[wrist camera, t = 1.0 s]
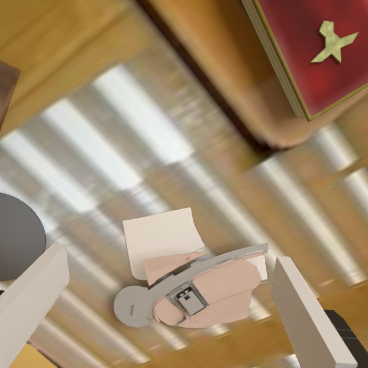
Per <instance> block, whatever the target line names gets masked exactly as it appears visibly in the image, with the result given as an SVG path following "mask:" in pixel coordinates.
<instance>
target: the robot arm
mask: <svg viewBox="0 0 368 368" xmlns="http://www.w3.org/2000/svg"><path fill="white" fill-rule="evenodd" d="M69 281H70V279H69V270H68V261H67V252H66V244H57V243H53V244H52V245H51V246H50V247H49V248H48V249H47V250H46V251H45V252H44V253H43V254H42V255H41V256H40V257H39V258H38V259H37V260H36V261H35V262H34V263H33V264H32V265H31V266H30V267H29V268H28V269H27V270H26V271H25V272H24V273H23V274H22V275H21V276H20V277H19V278H18V279H17V280H16V281H15V282H14V283H13V284H12V285H10V286H9V287H8V288H7V289H6V290H5V291H3V290H0V368H9V366H10V365H11V363H12V362H13V360H14V359H15V358H16V356H17V355H18V353H19V352H20V351H21V349H22V348H23V346H24V345H25V344H26V342H27V341H28V339H29V338H30V336H31V335H32V334H33V332H34V331H35V329H36V328H37V327H38V325H39V324H40V322H41V321H42V319H43V318H44V317H45V315H46V314H47V312H48V311H49V310H50V308H51V307H52V305H53V304H54V302H55V301H56V300H57V298H58V297H59V295H60V294H61V293H62V291H63V290H64V288H65V287H66V285H67V284H68V283H69ZM270 294H271V296H272V298H273V301H274V303H275V306H276V308H277V311H278V313H279V315H280V318H281V320H282V323H283V325H284V328H285V330H286V332H287V335H288V337H289V340H290V342H291V345H292V347H293V349H294V352H295V354H296V357H297V359H298V361H299V364H300V366H301V368H368V353H367V351H366V350H365V349H364V347H363V346H362V344H361V343H360V341H359V340H358V339H357V337H356V336H355V334H354V333H353V332H352V331H351V329H350V327H349V326H348V324H347V323H346V322H345V320H344V319H343V318H342V317H341V316H339V315H338V314H337V313H336V312H335V311H334V310H323V309H322V307H321V305H320V304H319V302H318V301H317V299H316V298H315V296H314V295H313V293H312V291H311V290H310V288H309V287H308V285H307V284H306V282H305V280H304V279H303V277H302V276H301V274H300V273H299V271H298V269H297V268H296V266H295V265H294V263H293V262H292V260H291V258H290V257H282V256H277V259H276V264H275V270H274V275H273V281H272V287H271V292H270Z"/></svg>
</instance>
